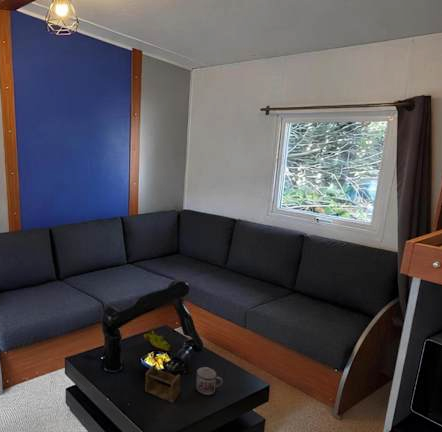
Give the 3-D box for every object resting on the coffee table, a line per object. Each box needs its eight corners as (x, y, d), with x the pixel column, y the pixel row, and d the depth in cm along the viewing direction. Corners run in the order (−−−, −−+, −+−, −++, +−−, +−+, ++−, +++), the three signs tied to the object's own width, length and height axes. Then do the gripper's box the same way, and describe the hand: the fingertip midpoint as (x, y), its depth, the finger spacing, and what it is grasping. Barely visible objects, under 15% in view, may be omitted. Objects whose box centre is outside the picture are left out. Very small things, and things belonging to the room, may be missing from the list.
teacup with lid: (196, 394, 188) (197, 372, 186) (194, 382, 197) (196, 361, 194) (223, 397, 186) (225, 375, 183) (220, 385, 195) (222, 363, 192)
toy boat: (150, 338, 238) (150, 323, 236) (173, 352, 223) (174, 336, 221) (142, 342, 234) (142, 326, 232) (165, 356, 220) (165, 339, 218)
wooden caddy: (145, 391, 191) (145, 372, 189) (152, 382, 197) (153, 364, 195) (172, 403, 183) (173, 383, 180) (179, 393, 189) (180, 375, 187)
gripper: (169, 348, 208) (154, 363, 195) (193, 356, 200) (179, 373, 187) (168, 361, 210) (153, 377, 196) (193, 370, 202) (179, 387, 188)
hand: (166, 375), depth 192 cm, fingers closed
